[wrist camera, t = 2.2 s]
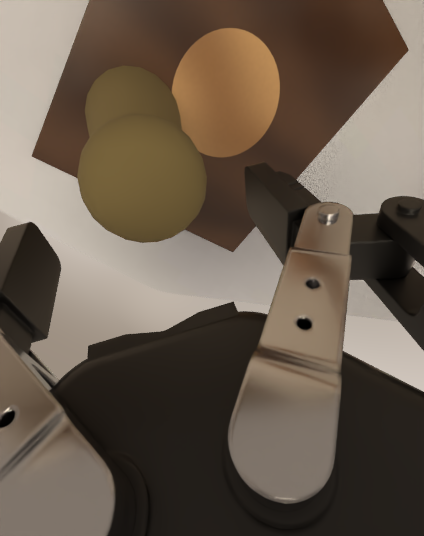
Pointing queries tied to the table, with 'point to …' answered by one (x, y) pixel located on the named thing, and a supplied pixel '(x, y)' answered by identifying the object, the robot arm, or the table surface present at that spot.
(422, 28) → the table surface
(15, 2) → the table surface
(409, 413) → the robot arm
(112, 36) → the placemat
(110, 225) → the pepper shaker
